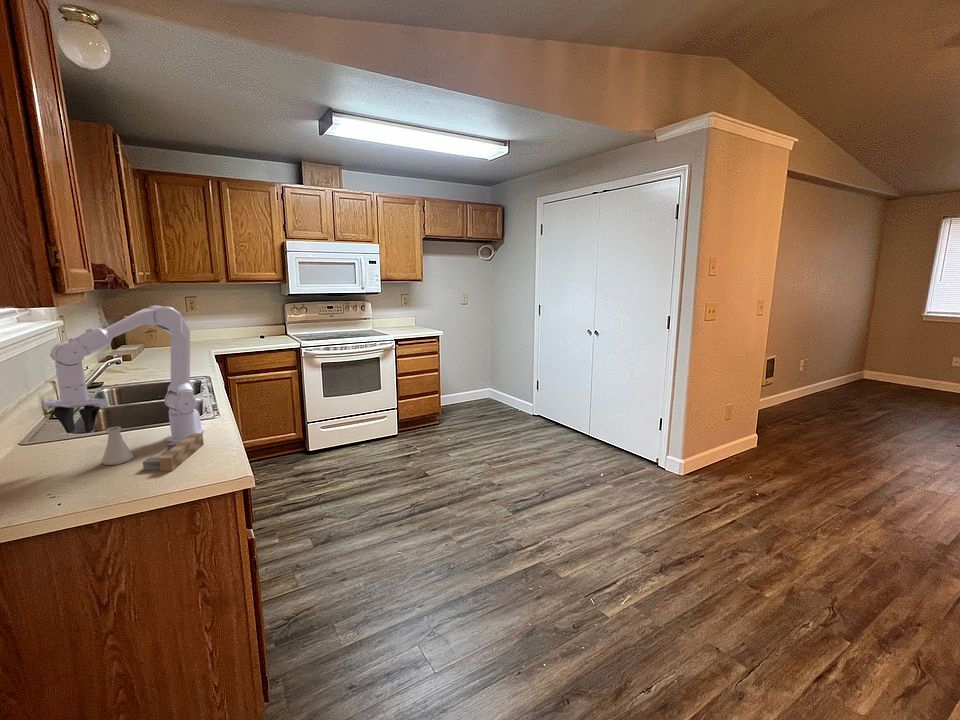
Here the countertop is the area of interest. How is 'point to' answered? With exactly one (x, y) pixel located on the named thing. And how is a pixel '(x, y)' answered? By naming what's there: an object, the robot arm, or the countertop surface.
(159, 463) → the spice rail
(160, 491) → the countertop surface
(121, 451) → the flask
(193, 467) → the countertop surface
